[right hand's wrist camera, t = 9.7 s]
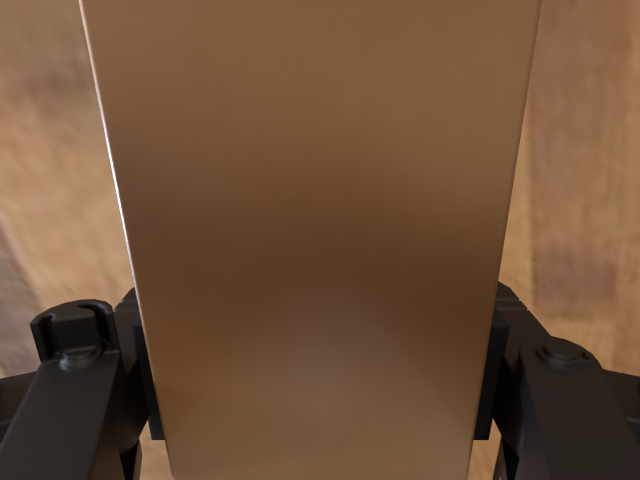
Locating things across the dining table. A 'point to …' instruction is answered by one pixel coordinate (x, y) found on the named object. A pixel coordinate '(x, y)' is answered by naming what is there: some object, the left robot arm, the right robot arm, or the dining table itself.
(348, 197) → the bar
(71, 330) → the right robot arm
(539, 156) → the dining table surface
